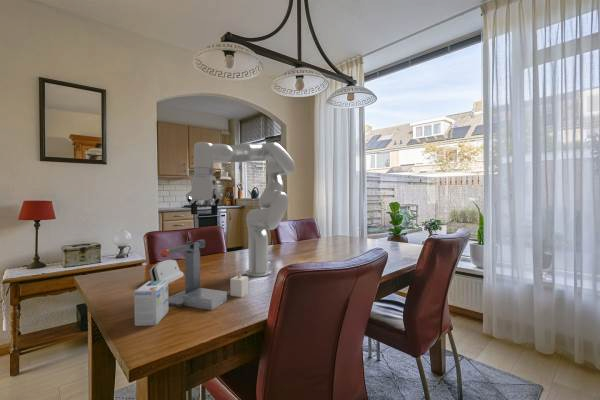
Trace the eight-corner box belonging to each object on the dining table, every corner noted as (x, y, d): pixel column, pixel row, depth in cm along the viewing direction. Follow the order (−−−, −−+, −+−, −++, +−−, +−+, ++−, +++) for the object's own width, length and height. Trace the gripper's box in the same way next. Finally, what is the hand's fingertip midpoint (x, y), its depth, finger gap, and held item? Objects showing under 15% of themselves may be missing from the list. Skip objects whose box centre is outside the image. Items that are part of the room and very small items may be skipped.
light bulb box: (148, 312, 100) (148, 280, 100) (169, 311, 101) (169, 279, 101) (133, 326, 90) (133, 290, 89) (157, 325, 90) (156, 290, 90)
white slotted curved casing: (163, 286, 128) (155, 264, 128) (153, 289, 128) (146, 267, 129) (184, 275, 144) (177, 255, 144) (176, 278, 145) (169, 258, 145)
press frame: (192, 289, 124) (191, 240, 123) (236, 295, 117) (236, 243, 116) (159, 303, 108) (159, 248, 107) (208, 311, 101) (208, 252, 100)
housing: (237, 291, 121) (237, 272, 121) (248, 292, 119) (248, 273, 119) (230, 295, 116) (230, 275, 116) (241, 297, 115) (241, 277, 114)
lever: (199, 246, 127) (199, 239, 127) (206, 247, 126) (206, 239, 125) (157, 258, 105) (157, 248, 105) (164, 258, 104) (164, 249, 104)
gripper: (227, 173, 124) (227, 214, 124) (192, 173, 130) (192, 213, 130) (216, 171, 117) (216, 215, 117) (180, 172, 122) (180, 214, 123)
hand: (204, 214), depth 124 cm, fingers open, 9 cm apart
